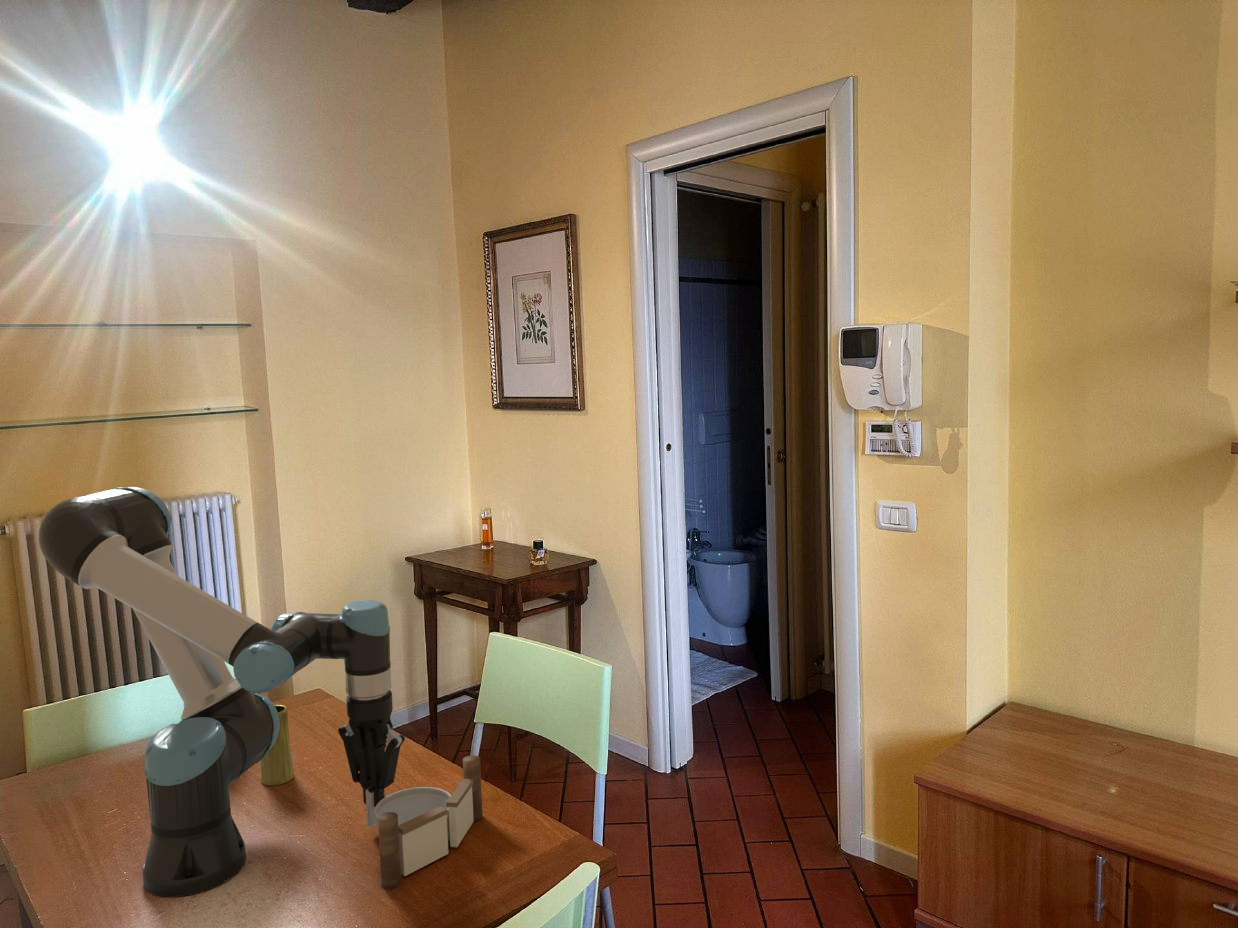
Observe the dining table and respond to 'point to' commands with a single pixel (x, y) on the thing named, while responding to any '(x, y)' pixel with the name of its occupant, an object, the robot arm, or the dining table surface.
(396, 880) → the gate posts
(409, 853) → the left leaf
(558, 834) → the dining table surface
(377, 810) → the ramekin
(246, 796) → the dining table surface
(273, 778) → the vase
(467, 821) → the right leaf
